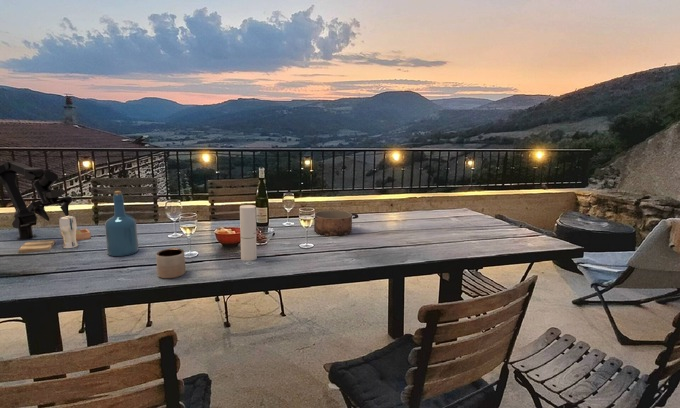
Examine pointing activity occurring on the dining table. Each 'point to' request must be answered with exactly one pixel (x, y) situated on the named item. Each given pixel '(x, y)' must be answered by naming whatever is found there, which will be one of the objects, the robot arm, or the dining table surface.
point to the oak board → (36, 246)
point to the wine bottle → (121, 230)
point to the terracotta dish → (83, 234)
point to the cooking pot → (333, 222)
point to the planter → (170, 263)
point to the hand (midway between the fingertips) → (58, 218)
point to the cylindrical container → (248, 232)
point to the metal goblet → (68, 231)
